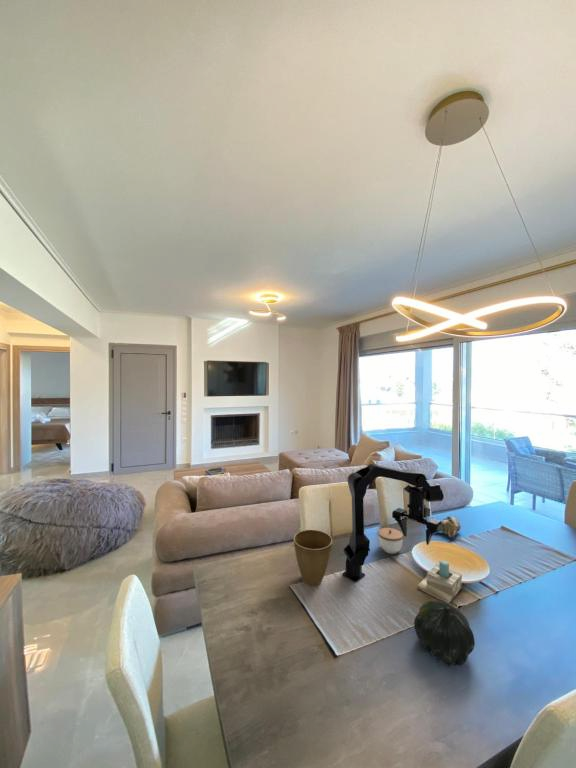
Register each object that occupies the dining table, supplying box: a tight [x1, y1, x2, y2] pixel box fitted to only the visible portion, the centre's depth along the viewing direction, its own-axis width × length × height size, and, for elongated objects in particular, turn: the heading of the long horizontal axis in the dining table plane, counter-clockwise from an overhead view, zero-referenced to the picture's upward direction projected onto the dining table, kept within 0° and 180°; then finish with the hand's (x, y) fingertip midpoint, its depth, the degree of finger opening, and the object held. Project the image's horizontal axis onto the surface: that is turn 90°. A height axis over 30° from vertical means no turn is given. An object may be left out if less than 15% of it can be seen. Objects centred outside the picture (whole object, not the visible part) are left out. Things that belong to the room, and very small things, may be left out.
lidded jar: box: [377, 527, 404, 555], centre depth 142 cm, size 11×11×9 cm
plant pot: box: [293, 529, 333, 586], centre depth 120 cm, size 15×15×16 cm
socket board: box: [416, 564, 463, 604], centre depth 115 cm, size 12×11×5 cm
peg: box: [438, 560, 450, 579], centre depth 116 cm, size 3×3×8 cm
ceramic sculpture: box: [437, 515, 462, 539], centre depth 158 cm, size 11×9×15 cm
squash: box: [413, 600, 476, 667], centre depth 88 cm, size 14×15×15 cm
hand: (416, 540), depth 127 cm, fingers open, 9 cm apart
